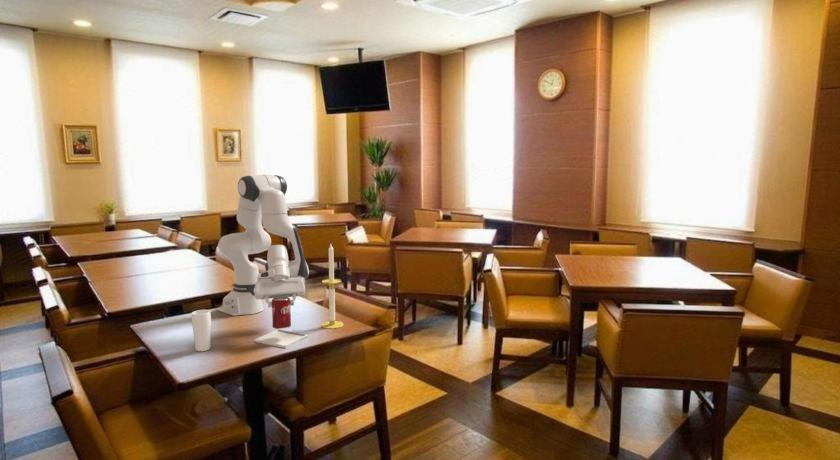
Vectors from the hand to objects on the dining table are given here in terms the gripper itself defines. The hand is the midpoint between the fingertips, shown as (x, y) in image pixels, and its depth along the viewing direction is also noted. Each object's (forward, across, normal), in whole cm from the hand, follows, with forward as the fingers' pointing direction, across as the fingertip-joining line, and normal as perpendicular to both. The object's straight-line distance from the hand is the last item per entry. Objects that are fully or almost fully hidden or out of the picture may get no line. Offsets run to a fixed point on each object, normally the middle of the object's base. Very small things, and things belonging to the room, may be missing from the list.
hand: (281, 305), depth 197 cm
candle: (+1, -22, -19) cm, 30 cm away
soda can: (+7, 0, -6) cm, 9 cm away
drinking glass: (+11, +30, -10) cm, 33 cm away
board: (+10, 0, -11) cm, 15 cm away
